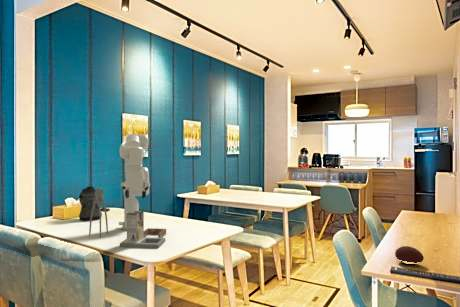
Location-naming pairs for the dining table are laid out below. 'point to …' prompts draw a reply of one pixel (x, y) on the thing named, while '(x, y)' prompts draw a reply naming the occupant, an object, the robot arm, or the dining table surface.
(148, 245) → the board
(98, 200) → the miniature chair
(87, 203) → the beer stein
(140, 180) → the robot arm
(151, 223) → the dining table surface
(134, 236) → the coffee box
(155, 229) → the stall
